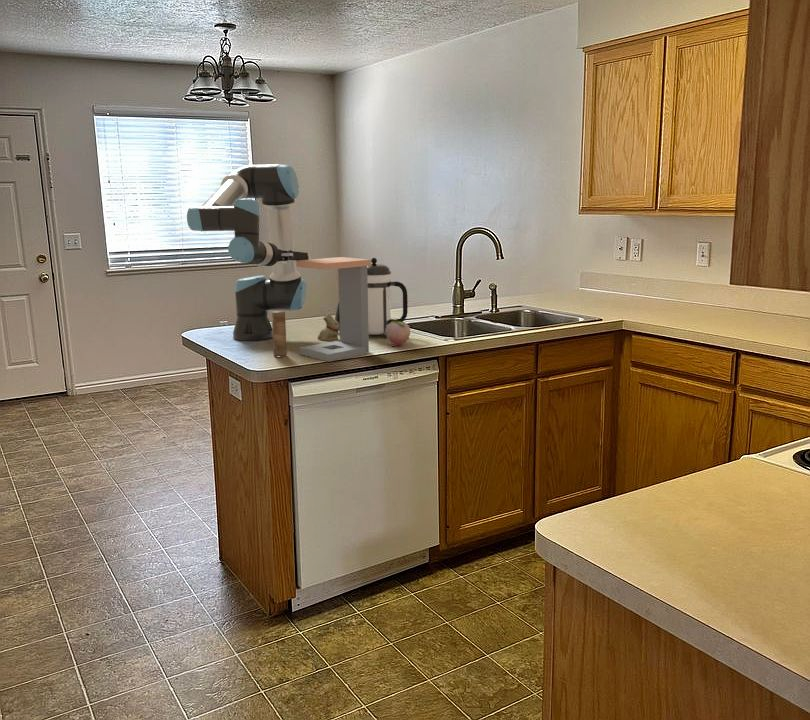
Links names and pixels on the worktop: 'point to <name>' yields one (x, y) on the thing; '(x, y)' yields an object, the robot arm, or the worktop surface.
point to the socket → (345, 309)
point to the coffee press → (381, 298)
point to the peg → (279, 333)
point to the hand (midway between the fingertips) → (297, 259)
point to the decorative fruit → (397, 332)
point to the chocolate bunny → (329, 329)
